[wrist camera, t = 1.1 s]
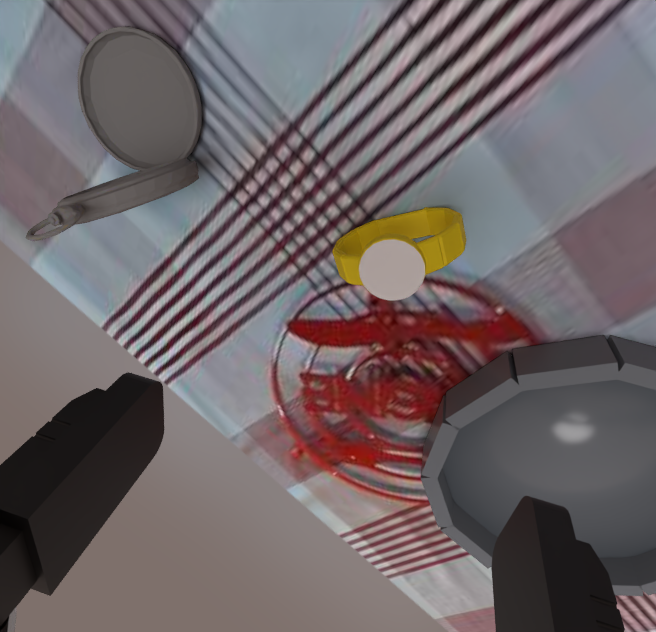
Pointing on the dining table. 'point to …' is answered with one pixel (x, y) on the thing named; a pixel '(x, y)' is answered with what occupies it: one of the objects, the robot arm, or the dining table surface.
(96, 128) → the pocket watch
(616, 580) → the round dish
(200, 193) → the dining table surface
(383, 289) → the watch
